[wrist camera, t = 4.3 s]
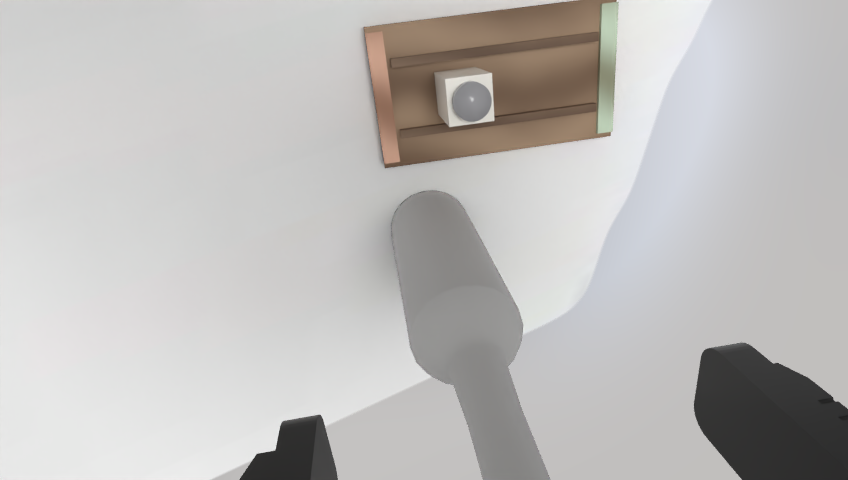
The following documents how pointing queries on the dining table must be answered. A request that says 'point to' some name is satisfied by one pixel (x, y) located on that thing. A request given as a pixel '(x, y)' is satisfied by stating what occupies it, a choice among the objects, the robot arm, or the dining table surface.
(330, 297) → the dining table surface
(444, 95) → the slider knob
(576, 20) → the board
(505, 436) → the bottle
